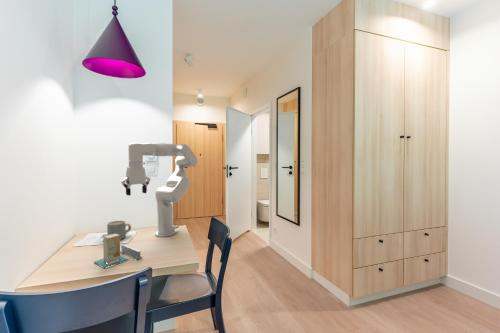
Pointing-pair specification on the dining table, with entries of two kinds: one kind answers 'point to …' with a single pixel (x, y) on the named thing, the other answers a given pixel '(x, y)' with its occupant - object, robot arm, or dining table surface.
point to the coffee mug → (118, 228)
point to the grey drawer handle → (131, 251)
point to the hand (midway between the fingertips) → (136, 194)
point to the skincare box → (111, 247)
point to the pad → (103, 263)
